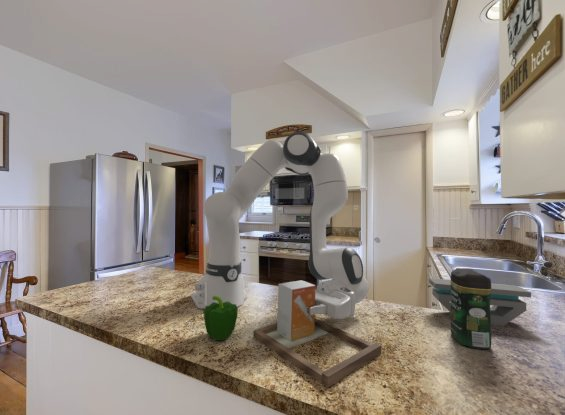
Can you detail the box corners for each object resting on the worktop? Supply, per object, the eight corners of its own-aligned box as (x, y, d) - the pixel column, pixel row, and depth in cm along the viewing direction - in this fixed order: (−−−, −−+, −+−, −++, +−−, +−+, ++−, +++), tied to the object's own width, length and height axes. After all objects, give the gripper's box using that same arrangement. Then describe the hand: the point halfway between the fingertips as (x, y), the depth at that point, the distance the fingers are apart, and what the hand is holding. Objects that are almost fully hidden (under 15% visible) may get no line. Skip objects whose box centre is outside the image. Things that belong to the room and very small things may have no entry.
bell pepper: (243, 336, 67) (244, 297, 67) (215, 347, 61) (216, 305, 62) (225, 326, 73) (226, 290, 73) (198, 335, 67) (199, 296, 68)
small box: (290, 342, 64) (292, 289, 64) (276, 332, 69) (277, 283, 69) (315, 334, 68) (316, 284, 69) (300, 325, 74) (301, 279, 74)
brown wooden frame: (253, 336, 67) (253, 328, 67) (305, 318, 79) (305, 312, 79) (327, 387, 48) (328, 376, 48) (381, 353, 60) (381, 345, 60)
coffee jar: (446, 331, 73) (446, 265, 74) (479, 335, 71) (479, 267, 71) (458, 347, 64) (459, 272, 64) (496, 353, 62) (497, 275, 62)
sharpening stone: (515, 319, 83) (515, 285, 83) (531, 329, 75) (531, 292, 76) (428, 309, 90) (428, 277, 91) (434, 317, 83) (434, 283, 83)
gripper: (305, 278, 85) (272, 284, 76) (359, 293, 69) (325, 304, 60) (305, 297, 85) (271, 306, 76) (359, 317, 69) (325, 331, 60)
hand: (296, 305), depth 68 cm, fingers open, 8 cm apart
